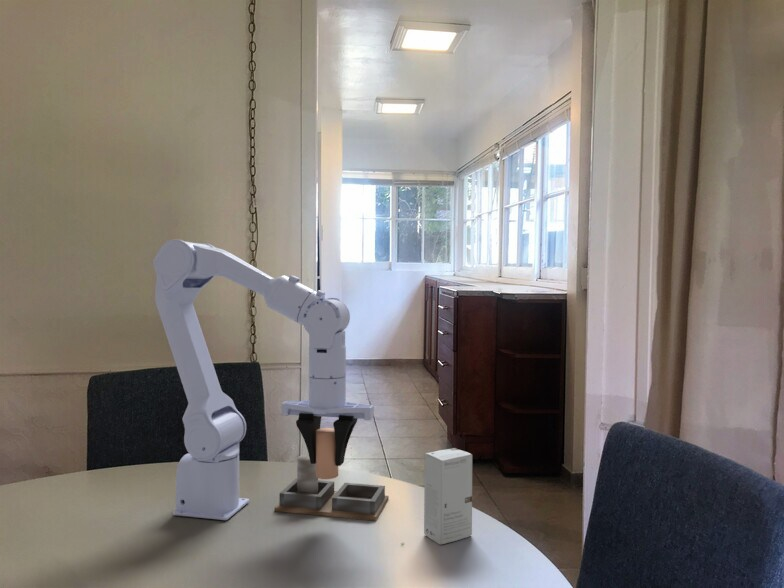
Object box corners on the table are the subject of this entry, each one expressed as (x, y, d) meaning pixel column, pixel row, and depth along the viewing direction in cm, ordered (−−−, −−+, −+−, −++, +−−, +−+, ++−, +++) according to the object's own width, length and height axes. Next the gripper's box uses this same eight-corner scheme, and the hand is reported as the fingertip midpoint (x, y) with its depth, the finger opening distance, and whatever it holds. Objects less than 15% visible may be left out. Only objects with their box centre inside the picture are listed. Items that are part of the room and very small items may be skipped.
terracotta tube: (312, 478, 86) (312, 432, 86) (320, 470, 89) (320, 427, 89) (334, 480, 85) (334, 434, 85) (341, 472, 89) (341, 428, 88)
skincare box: (441, 546, 79) (441, 460, 79) (422, 534, 83) (422, 452, 82) (474, 535, 82) (474, 453, 82) (454, 524, 86) (454, 446, 86)
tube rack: (274, 511, 91) (274, 464, 91) (295, 491, 100) (295, 448, 99) (376, 520, 87) (376, 472, 87) (388, 499, 96) (388, 455, 96)
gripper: (273, 378, 85) (273, 467, 85) (365, 382, 82) (365, 474, 82) (291, 371, 92) (291, 453, 92) (377, 374, 89) (376, 460, 89)
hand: (327, 462), depth 87 cm, fingers closed on terracotta tube, 3 cm apart
